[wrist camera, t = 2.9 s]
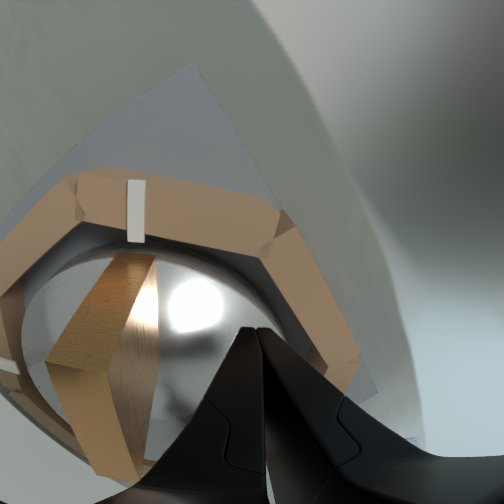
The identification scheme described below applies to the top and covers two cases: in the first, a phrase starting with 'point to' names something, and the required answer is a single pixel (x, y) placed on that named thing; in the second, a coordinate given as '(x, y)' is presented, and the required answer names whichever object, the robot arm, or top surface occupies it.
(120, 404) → the dial
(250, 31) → the top surface
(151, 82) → the top surface
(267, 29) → the top surface
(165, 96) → the dial plate
